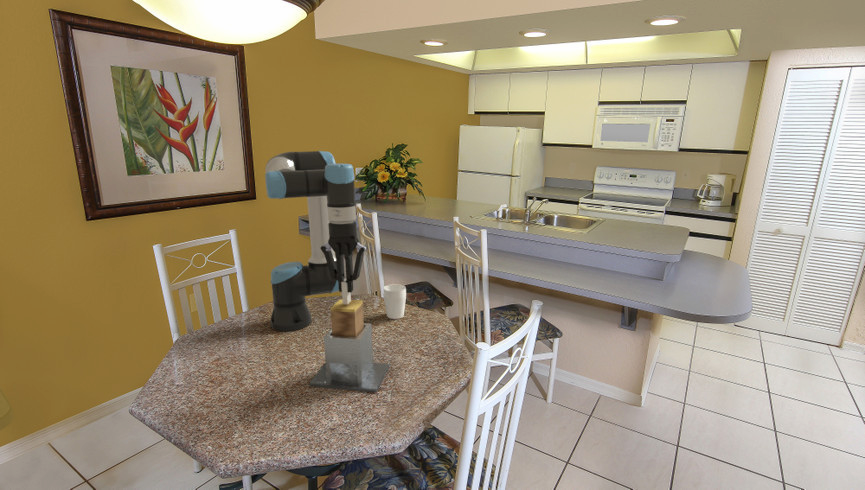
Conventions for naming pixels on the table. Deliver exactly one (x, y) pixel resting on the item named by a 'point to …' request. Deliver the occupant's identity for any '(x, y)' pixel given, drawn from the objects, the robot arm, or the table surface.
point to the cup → (395, 300)
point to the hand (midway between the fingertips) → (346, 302)
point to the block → (347, 318)
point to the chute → (350, 363)
